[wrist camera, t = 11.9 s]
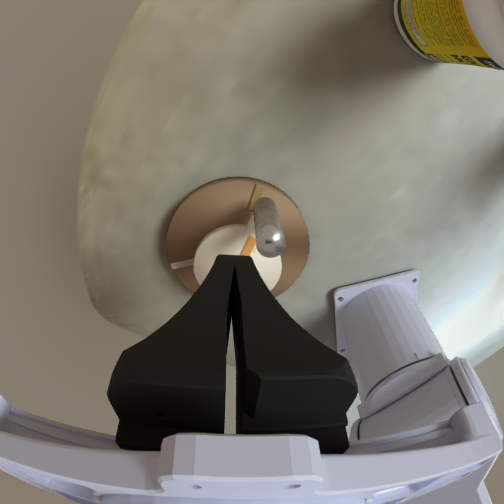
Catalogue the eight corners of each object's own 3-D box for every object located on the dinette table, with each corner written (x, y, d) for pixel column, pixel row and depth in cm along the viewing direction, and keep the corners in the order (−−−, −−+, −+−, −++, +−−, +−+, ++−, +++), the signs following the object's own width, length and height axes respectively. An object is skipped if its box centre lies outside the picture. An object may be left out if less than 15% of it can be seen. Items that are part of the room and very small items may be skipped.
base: (313, 281, 25) (319, 299, 23) (194, 305, 26) (191, 324, 24) (294, 162, 20) (300, 172, 18) (149, 197, 20) (140, 210, 19)
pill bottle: (413, 71, 16) (537, 96, 7) (374, -10, 13) (484, -51, 4) (472, 52, 15) (589, 75, 5) (440, -22, 12) (552, -40, 2)
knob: (258, 304, 23) (262, 349, 19) (184, 280, 21) (175, 325, 18) (310, 214, 19) (327, 252, 15) (225, 180, 18) (221, 212, 14)
